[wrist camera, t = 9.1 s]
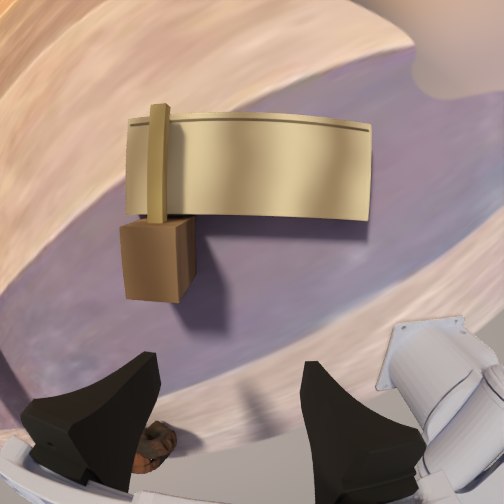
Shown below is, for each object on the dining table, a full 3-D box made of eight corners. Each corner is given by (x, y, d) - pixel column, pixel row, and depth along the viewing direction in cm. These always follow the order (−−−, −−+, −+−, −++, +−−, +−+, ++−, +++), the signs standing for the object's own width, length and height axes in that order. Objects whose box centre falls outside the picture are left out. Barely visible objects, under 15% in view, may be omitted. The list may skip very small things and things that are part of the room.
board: (360, 129, 19) (371, 124, 17) (357, 217, 20) (368, 221, 18) (138, 124, 18) (128, 119, 17) (136, 211, 20) (125, 214, 18)
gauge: (197, 116, 18) (179, 94, 13) (196, 274, 21) (178, 303, 16) (153, 119, 18) (123, 101, 13) (153, 272, 21) (126, 298, 16)
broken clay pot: (155, 455, 28) (111, 480, 21) (121, 396, 31) (72, 415, 23) (213, 451, 23) (161, 492, 16) (169, 378, 26) (106, 405, 19)
